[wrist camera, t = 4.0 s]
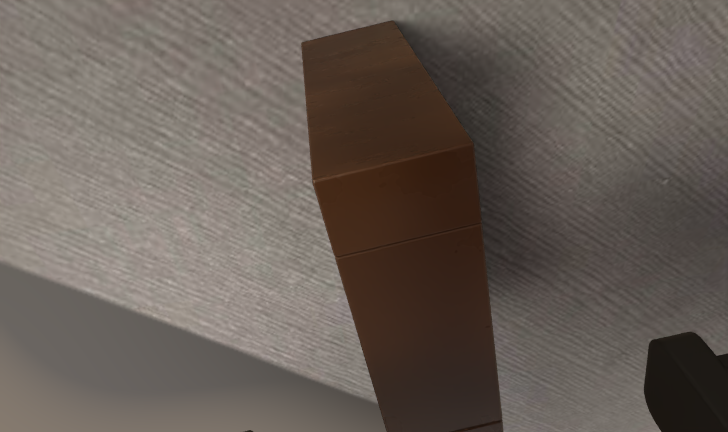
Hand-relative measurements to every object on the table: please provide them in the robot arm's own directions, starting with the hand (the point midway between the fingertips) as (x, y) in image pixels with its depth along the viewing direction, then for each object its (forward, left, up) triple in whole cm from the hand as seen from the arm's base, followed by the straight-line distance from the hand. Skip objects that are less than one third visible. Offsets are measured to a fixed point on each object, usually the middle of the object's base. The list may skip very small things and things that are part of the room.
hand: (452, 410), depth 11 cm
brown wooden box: (0, 0, -11) cm, 11 cm away
